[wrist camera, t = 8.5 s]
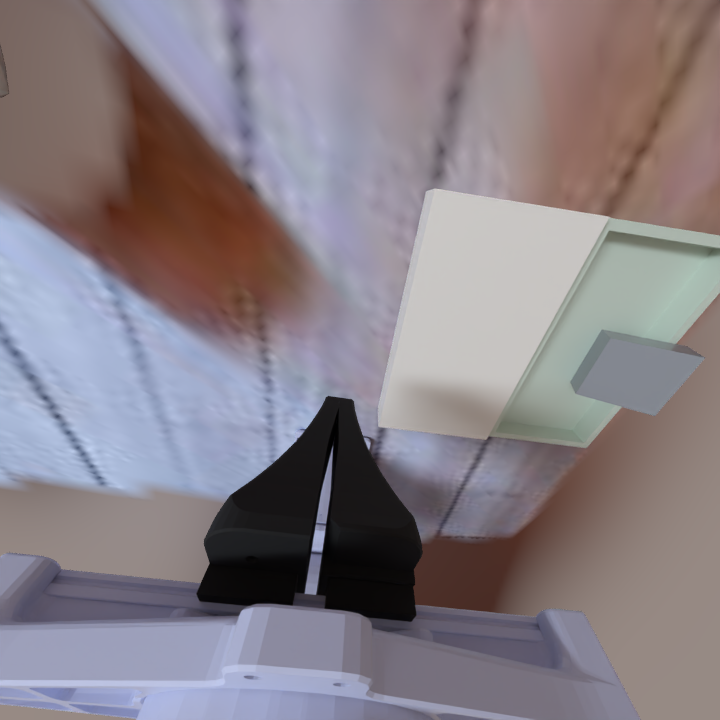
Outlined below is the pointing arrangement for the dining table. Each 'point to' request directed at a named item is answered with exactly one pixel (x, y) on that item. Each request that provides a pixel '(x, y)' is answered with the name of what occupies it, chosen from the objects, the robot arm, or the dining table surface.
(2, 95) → the rock
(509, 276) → the white board
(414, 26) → the dining table surface
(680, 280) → the box
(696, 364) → the grey tile
